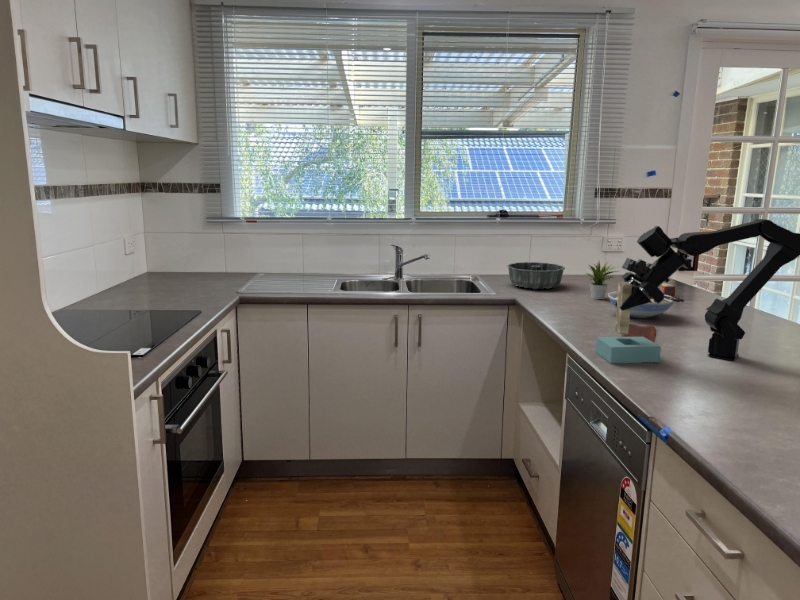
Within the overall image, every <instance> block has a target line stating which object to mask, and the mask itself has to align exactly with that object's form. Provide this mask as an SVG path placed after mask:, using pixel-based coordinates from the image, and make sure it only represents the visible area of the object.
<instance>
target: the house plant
mask: <svg viewBox="0 0 800 600" xmlns="http://www.w3.org/2000/svg"><path fill="white" fill-rule="evenodd" d="M608 264H609V261H607V262H606V263H605V264H604V265H603V266H602V268H601V262H600V260H598V262H597V263H596V264H594V263H593V265H594V266H595V267H594V266H592V265H590V264H588V267H589V270H590V271H591V272H592V274H590V273H586V276H589V280H590V281H591V280H593V281H594V282H590V283H589V286H590V287H589V289H590V295H591V297H590V298H591V299H592V298H593V299H592V300H596V299H603V300H605V298H606V293H607V289H608V283H605V282H606V281H607V280H608V281H610V279H614V276H615V274H614V275H611V276H609V274H613V273H618V272H620V271H619V270H614V271H611V270H613V269H615V266H613V264H610V265H608ZM607 265H608V266H607ZM612 266H613V267H612Z"/></svg>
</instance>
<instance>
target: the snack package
mask: <svg viewBox="0 0 800 600" xmlns="http://www.w3.org/2000/svg"><path fill="white" fill-rule="evenodd" d="M658 288H659V289H660V290H661V291H662V292H663V294H664V295H669V296H671V297H674V298H675V295H676V286H675V285H674V284H670V283H666V282H663V283H662V284H661V285H660V286H659V287H658Z"/></svg>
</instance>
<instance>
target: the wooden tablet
mask: <svg viewBox="0 0 800 600" xmlns="http://www.w3.org/2000/svg"><path fill="white" fill-rule="evenodd" d="M655 336H656V327H655V326H654V325H639V324H634V323H629V329H628V334H621V337H645V338H646V339H648V340H650V341H652V342H654V343H655Z"/></svg>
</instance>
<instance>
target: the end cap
mask: <svg viewBox="0 0 800 600" xmlns="http://www.w3.org/2000/svg"><path fill="white" fill-rule="evenodd" d="M661 350H662V346H661V345H659V344H657V343H656V342H655V341H654V342H652V341H650V340H648V339H646V338H645V337H622V336H608V337H607V336H604V337H603V336H599V337H598V336H597V337H596V342H595V353H596V354H597V353H598V354H599V355H598V354H597V355H598V356H600V355H601V356H602V357H603V358H602V357H601V356H600V357H601V358H602V359H604V358H605V359H606V360H605V359H604V360H605V361H607V362H608V361H609V362H610V364H642V362H648V364H650V363H649V362H651V364H652V362H658V363H660V360H661ZM609 362H608V363H609Z"/></svg>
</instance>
